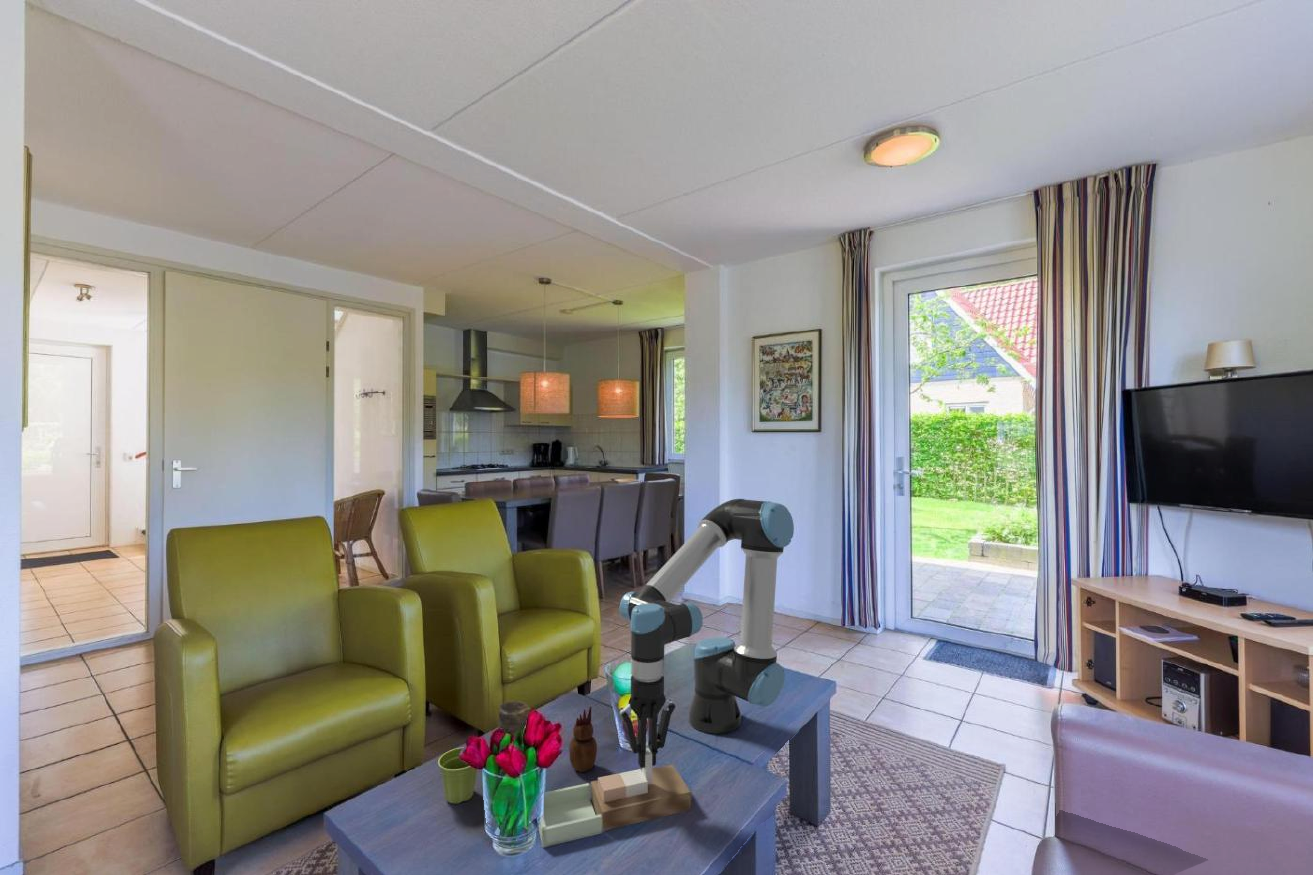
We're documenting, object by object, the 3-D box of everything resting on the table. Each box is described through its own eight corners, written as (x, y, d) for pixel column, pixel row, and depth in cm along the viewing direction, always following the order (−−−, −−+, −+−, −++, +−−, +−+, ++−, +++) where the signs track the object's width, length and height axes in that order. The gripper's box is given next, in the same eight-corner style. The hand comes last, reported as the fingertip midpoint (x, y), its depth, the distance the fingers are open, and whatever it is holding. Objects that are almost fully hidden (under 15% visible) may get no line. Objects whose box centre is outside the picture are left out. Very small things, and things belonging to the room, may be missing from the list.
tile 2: (640, 779, 129) (640, 768, 129) (647, 792, 125) (647, 781, 125) (619, 784, 128) (619, 773, 128) (625, 797, 123) (626, 786, 123)
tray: (588, 798, 129) (588, 783, 129) (601, 833, 118) (601, 816, 118) (534, 810, 125) (534, 794, 125) (542, 847, 113) (542, 830, 113)
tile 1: (619, 784, 128) (619, 773, 128) (625, 797, 123) (625, 786, 123) (597, 788, 126) (597, 777, 126) (603, 802, 121) (603, 791, 121)
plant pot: (452, 780, 135) (452, 744, 135) (488, 785, 134) (488, 748, 134) (429, 806, 126) (429, 767, 126) (468, 811, 124) (468, 772, 124)
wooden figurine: (598, 762, 143) (598, 703, 143) (594, 775, 137) (594, 714, 137) (572, 760, 144) (572, 701, 144) (566, 774, 138) (566, 712, 138)
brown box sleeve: (672, 781, 135) (672, 764, 135) (690, 809, 125) (690, 791, 125) (590, 799, 129) (590, 781, 128) (602, 831, 118) (602, 812, 118)
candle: (501, 782, 135) (501, 699, 134) (532, 781, 135) (532, 697, 135) (495, 803, 127) (495, 714, 127) (528, 801, 128) (528, 713, 127)
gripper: (668, 665, 133) (667, 765, 133) (614, 672, 128) (614, 776, 128) (680, 677, 126) (680, 783, 126) (624, 686, 121) (624, 796, 121)
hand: (647, 779), depth 127 cm, fingers closed
